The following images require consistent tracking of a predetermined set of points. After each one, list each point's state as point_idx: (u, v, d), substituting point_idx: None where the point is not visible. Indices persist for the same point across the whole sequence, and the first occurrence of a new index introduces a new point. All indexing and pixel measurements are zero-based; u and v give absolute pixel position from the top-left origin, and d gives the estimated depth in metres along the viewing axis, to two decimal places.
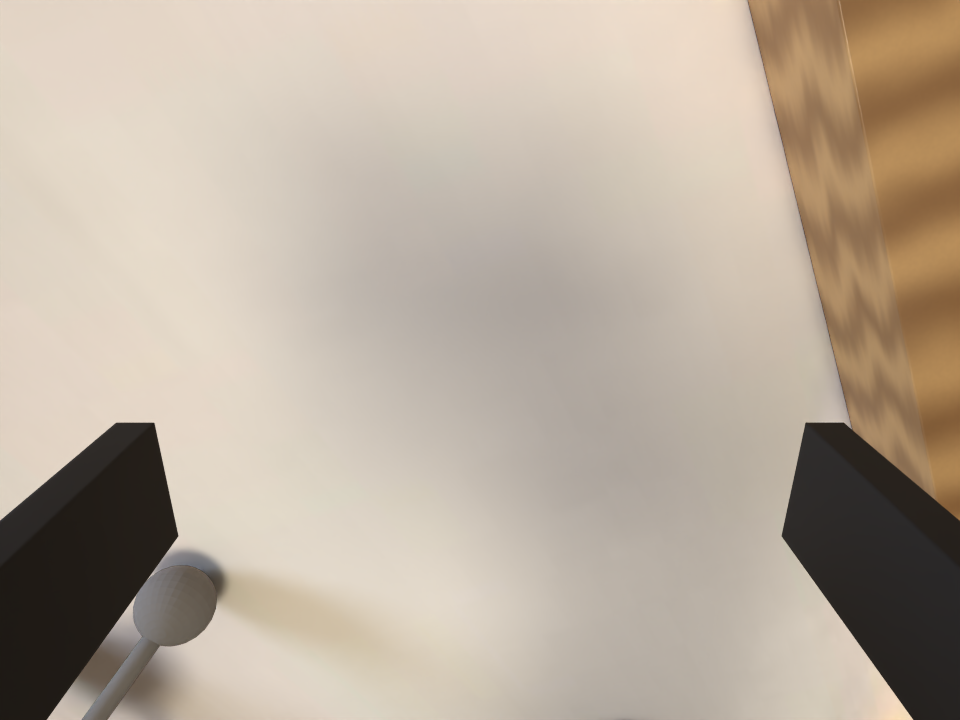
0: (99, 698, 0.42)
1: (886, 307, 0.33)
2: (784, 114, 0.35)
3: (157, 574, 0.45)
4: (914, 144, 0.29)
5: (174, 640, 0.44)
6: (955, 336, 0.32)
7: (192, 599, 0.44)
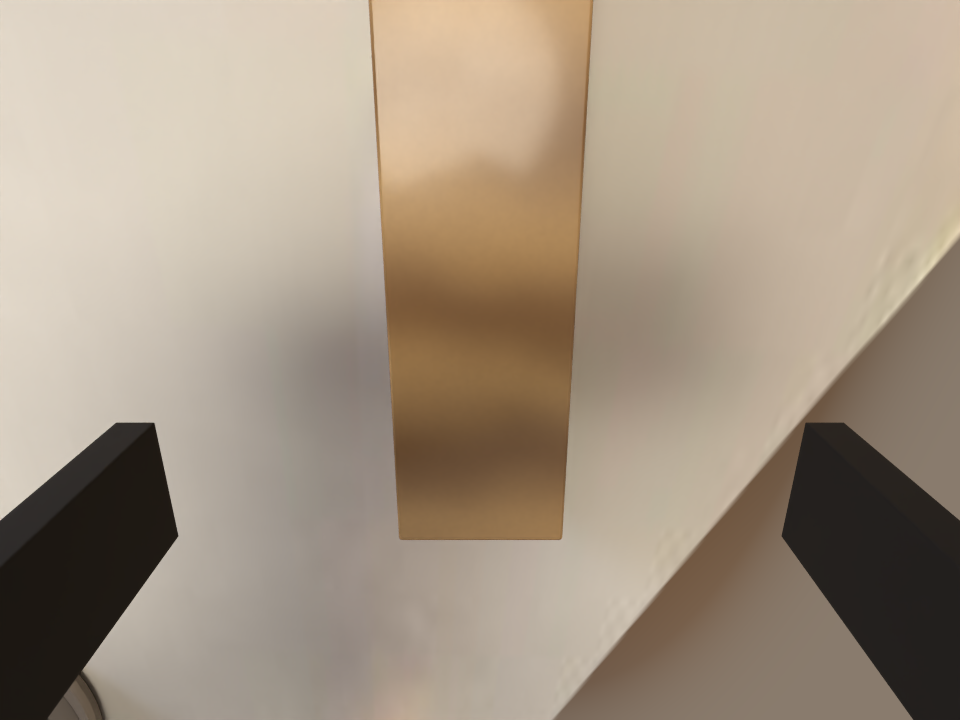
0: None
1: None
2: None
3: None
4: None
5: None
6: None
7: None
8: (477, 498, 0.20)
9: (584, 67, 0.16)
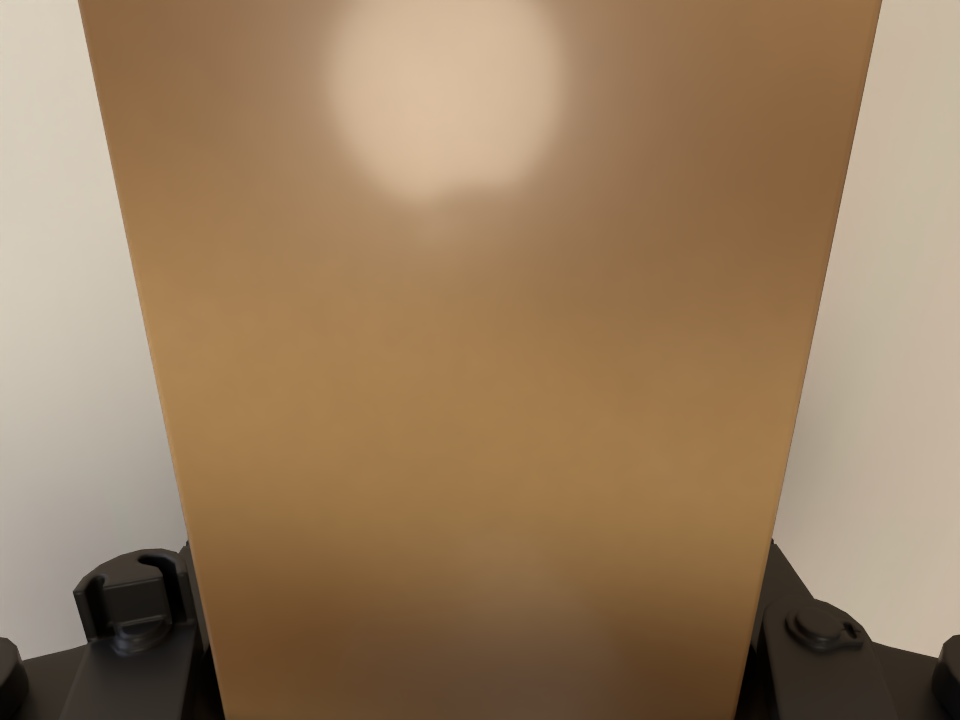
0: None
1: None
2: None
3: None
4: None
5: None
6: None
7: None
8: None
9: None
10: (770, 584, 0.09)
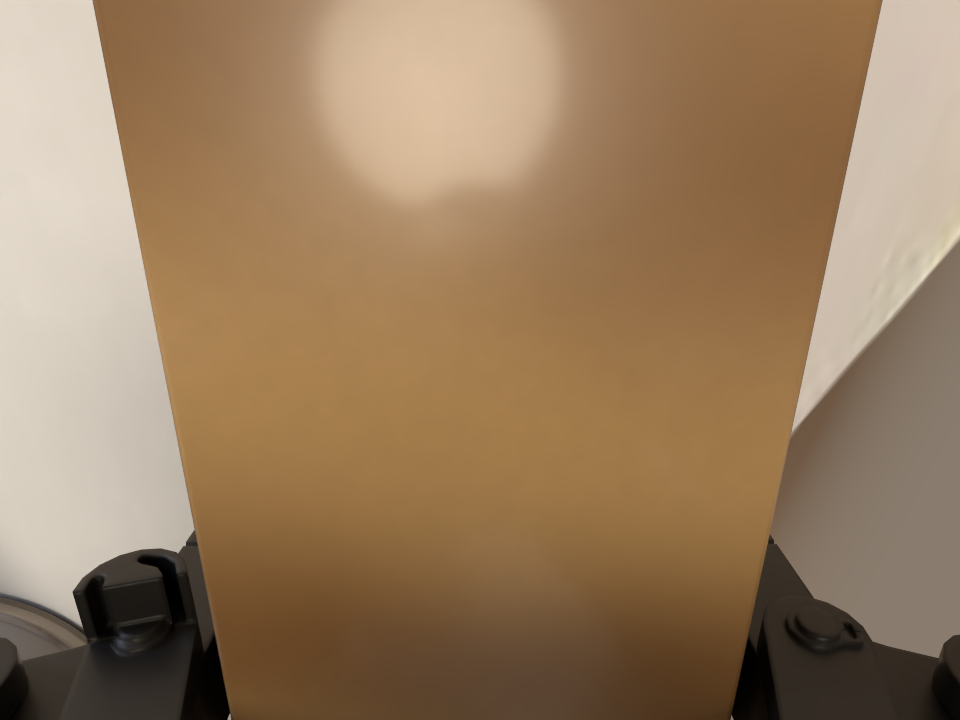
0: None
1: None
2: None
3: None
4: None
5: None
6: None
7: None
8: None
9: None
10: (770, 584, 0.09)
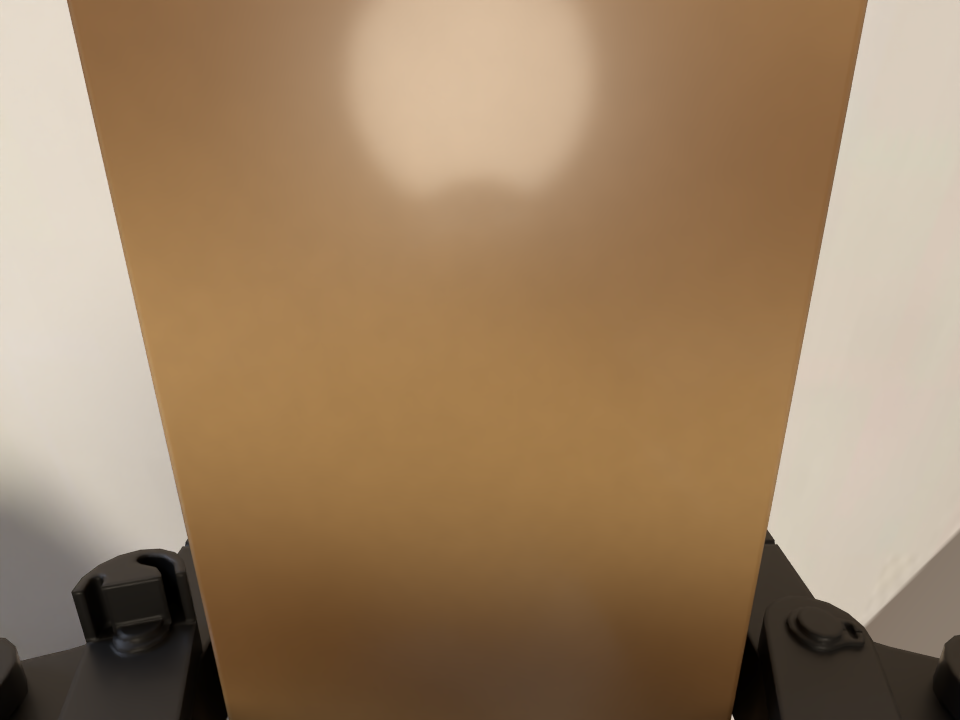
0: None
1: None
2: None
3: None
4: None
5: None
6: None
7: None
8: None
9: None
10: (771, 584, 0.09)
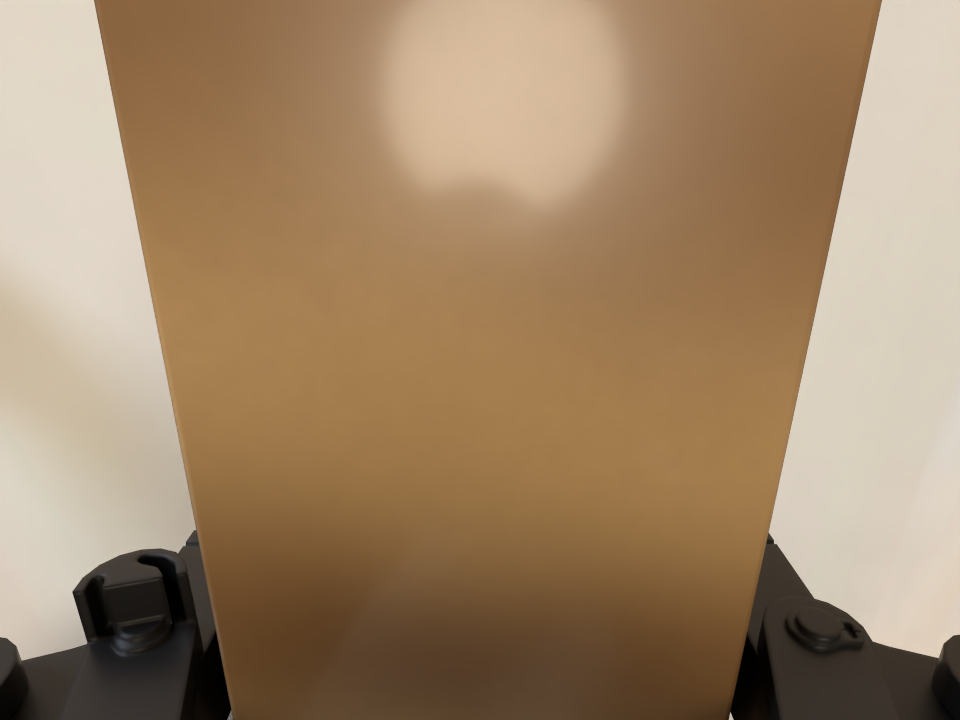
0: None
1: None
2: None
3: None
4: None
5: None
6: None
7: None
8: None
9: None
10: (770, 584, 0.09)
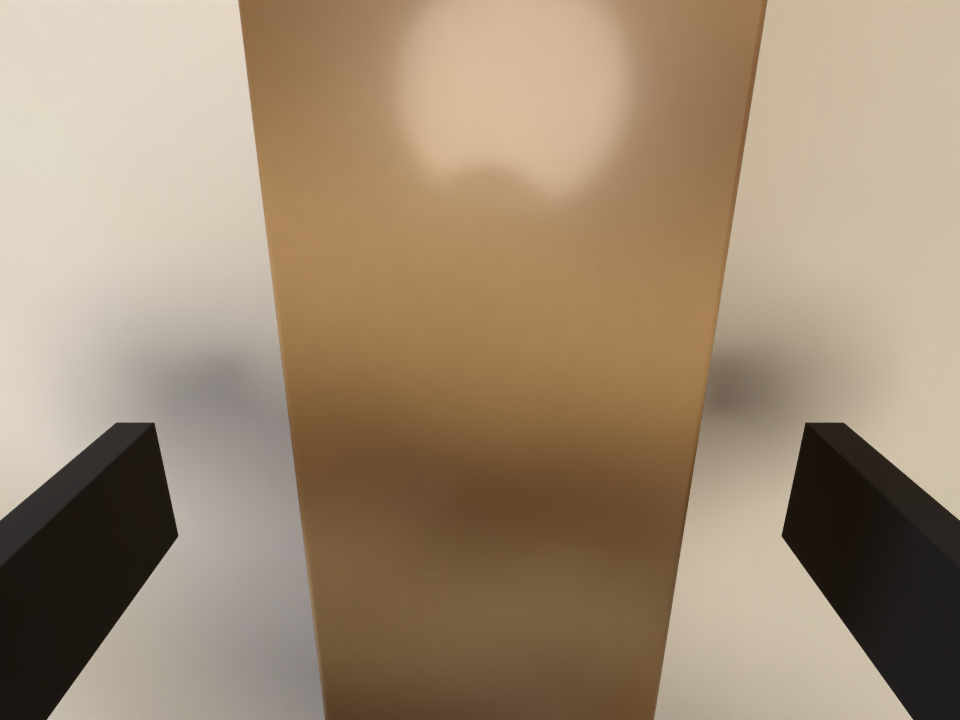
0: None
1: None
2: None
3: None
4: None
5: None
6: None
7: None
8: None
9: None
10: None
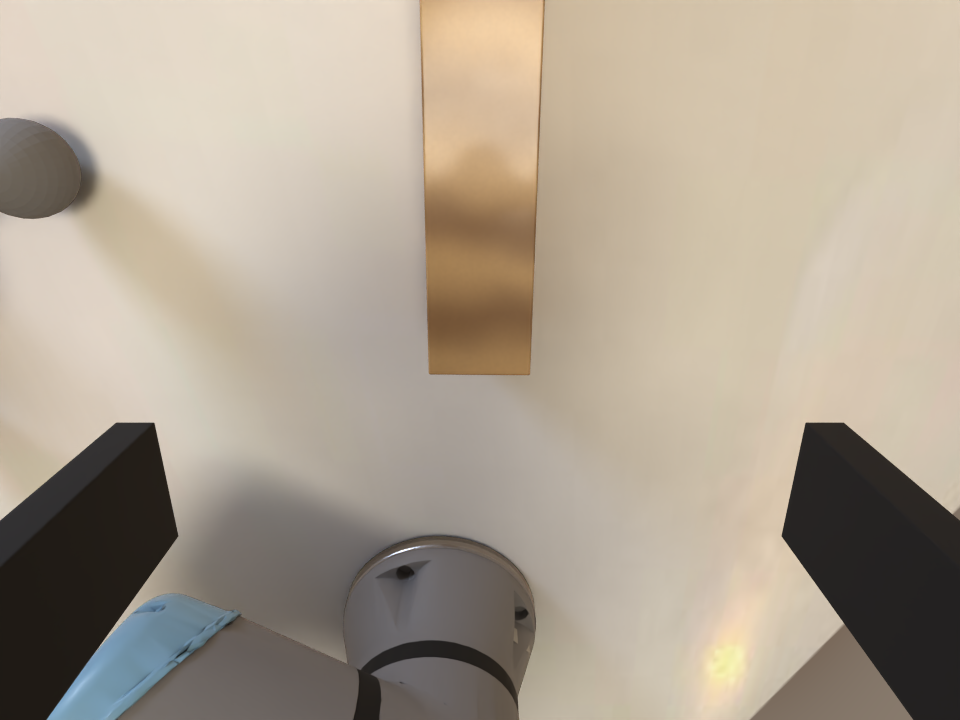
0: None
1: None
2: None
3: None
4: None
5: (6, 195, 0.34)
6: None
7: (51, 158, 0.34)
8: (477, 345, 0.33)
9: (538, 84, 0.29)
10: None
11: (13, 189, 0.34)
